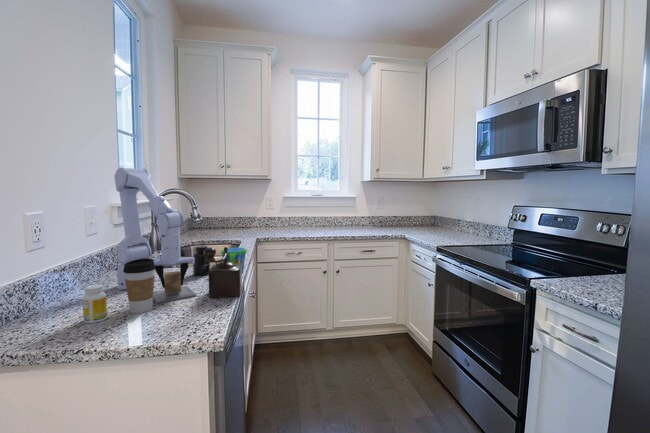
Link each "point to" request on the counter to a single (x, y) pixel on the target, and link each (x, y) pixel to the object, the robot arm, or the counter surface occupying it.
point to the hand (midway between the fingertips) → (172, 286)
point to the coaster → (173, 295)
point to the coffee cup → (140, 284)
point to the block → (172, 282)
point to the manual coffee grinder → (223, 276)
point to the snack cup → (236, 256)
